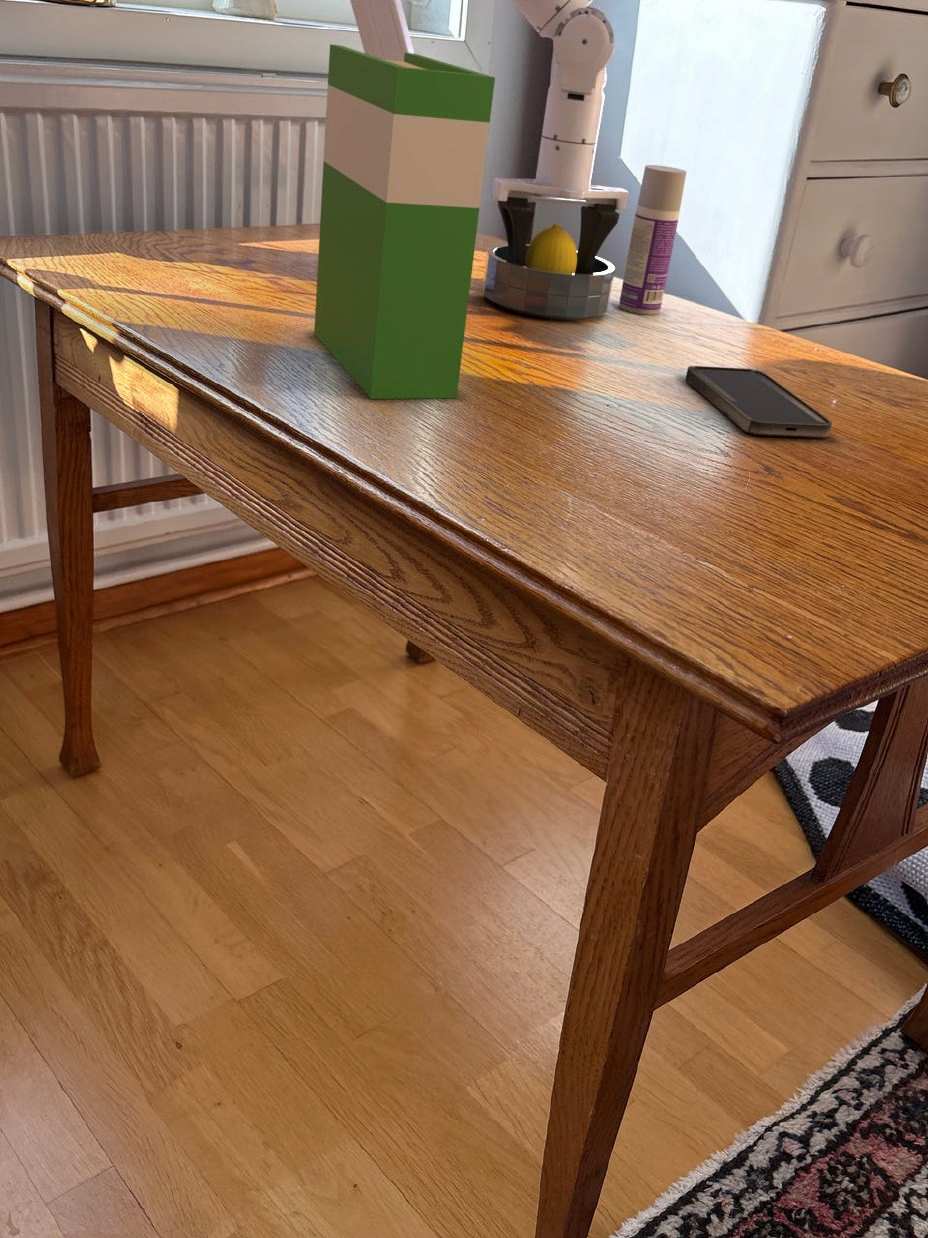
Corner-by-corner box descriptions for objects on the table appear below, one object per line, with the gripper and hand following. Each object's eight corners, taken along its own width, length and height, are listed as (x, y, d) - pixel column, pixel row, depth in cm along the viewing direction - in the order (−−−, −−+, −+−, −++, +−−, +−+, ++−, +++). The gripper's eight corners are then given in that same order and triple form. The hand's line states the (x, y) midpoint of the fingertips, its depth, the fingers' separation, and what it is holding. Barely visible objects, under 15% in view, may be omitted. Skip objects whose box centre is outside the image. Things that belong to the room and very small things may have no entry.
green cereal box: (314, 333, 104) (330, 43, 93) (390, 334, 107) (415, 53, 95) (370, 398, 90) (397, 67, 79) (456, 397, 93) (495, 77, 81)
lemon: (555, 309, 121) (567, 232, 117) (511, 297, 123) (521, 221, 119) (579, 301, 125) (591, 227, 121) (535, 290, 127) (546, 216, 123)
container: (658, 306, 130) (686, 168, 123) (660, 316, 126) (689, 174, 119) (618, 301, 130) (643, 162, 123) (619, 310, 126) (645, 168, 119)
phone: (759, 369, 107) (837, 425, 94) (756, 380, 108) (833, 438, 95) (682, 365, 105) (751, 421, 92) (680, 376, 106) (748, 434, 93)
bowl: (469, 307, 119) (475, 259, 117) (495, 282, 131) (501, 237, 129) (598, 330, 117) (606, 282, 115) (613, 302, 129) (621, 257, 127)
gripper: (515, 139, 111) (497, 279, 117) (649, 151, 115) (624, 286, 122) (493, 128, 116) (477, 263, 123) (621, 141, 121) (598, 270, 127)
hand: (548, 273), depth 123 cm, fingers open, 7 cm apart
